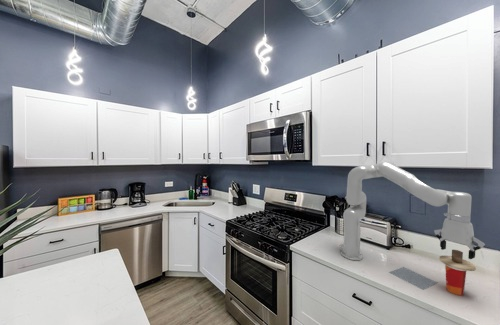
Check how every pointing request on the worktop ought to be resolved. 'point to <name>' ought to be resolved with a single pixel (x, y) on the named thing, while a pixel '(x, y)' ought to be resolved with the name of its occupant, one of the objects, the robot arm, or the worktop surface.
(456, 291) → the paper cup
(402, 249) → the worktop surface
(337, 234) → the worktop surface
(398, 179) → the robot arm
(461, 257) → the oak lid
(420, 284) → the grey mat
